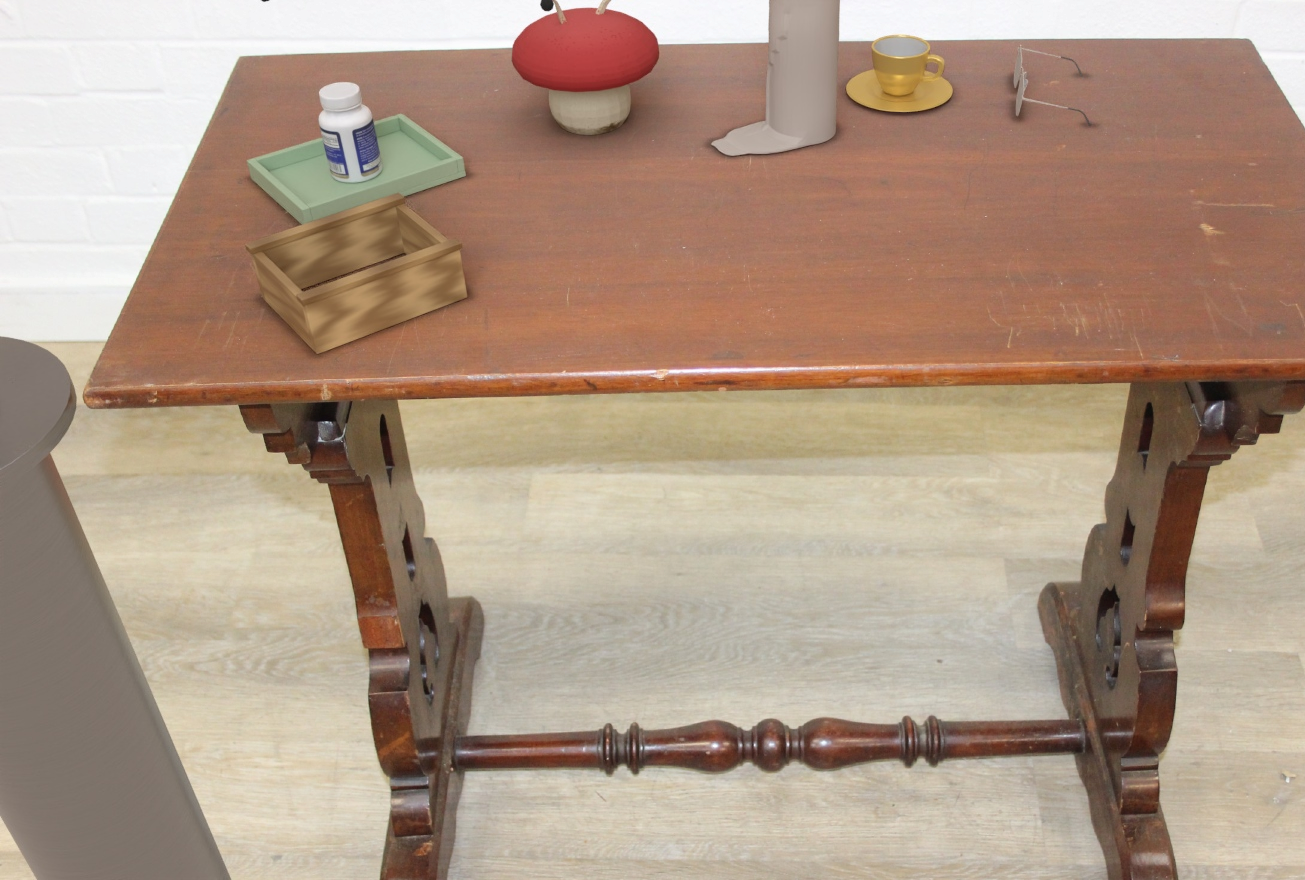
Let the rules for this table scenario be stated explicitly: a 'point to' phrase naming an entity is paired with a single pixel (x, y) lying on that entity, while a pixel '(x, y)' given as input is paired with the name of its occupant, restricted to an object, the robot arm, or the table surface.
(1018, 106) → the eyeglasses
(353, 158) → the pill bottle
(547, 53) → the mushroom
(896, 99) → the cup
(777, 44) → the candle
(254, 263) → the wooden box
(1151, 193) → the table surface
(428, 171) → the tray
